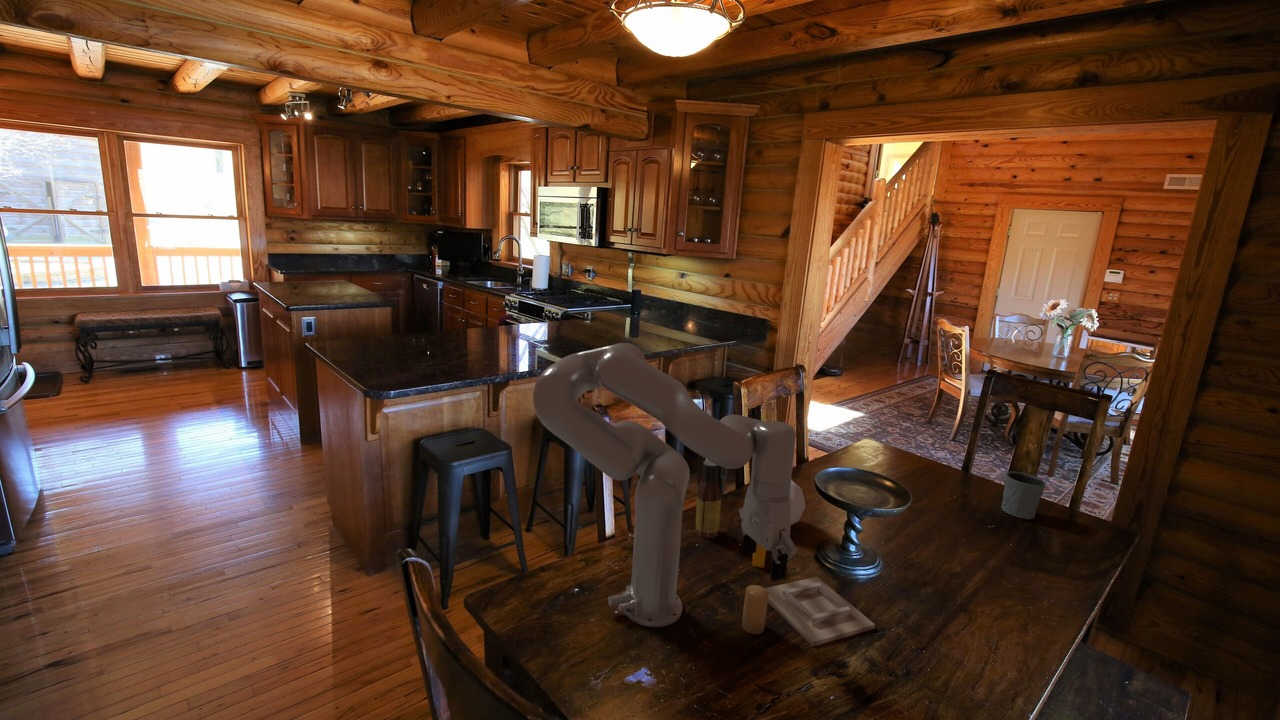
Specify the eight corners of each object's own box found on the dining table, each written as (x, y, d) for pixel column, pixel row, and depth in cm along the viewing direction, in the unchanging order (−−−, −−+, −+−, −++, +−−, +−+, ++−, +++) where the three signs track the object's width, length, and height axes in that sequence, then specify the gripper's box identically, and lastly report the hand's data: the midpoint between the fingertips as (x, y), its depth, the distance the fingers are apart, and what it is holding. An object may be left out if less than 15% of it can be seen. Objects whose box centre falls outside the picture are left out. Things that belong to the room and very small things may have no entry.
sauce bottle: (722, 532, 157) (729, 462, 153) (712, 542, 152) (719, 470, 148) (700, 524, 161) (706, 456, 156) (689, 534, 156) (696, 463, 151)
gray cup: (990, 507, 184) (998, 471, 181) (1020, 507, 185) (1028, 471, 182) (1014, 523, 174) (1022, 485, 171) (1045, 523, 175) (1054, 485, 173)
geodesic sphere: (738, 526, 161) (743, 477, 158) (756, 507, 173) (762, 461, 170) (791, 544, 154) (798, 493, 151) (807, 523, 166) (814, 475, 163)
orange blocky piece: (745, 541, 154) (747, 518, 153) (762, 543, 154) (764, 520, 152) (745, 566, 143) (748, 542, 141) (763, 569, 142) (766, 544, 141)
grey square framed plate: (812, 646, 116) (814, 634, 115) (759, 593, 132) (760, 583, 131) (874, 628, 122) (876, 617, 122) (816, 580, 138) (817, 570, 138)
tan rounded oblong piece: (750, 636, 117) (754, 600, 116) (737, 622, 121) (741, 587, 120) (768, 631, 119) (773, 595, 118) (755, 617, 123) (759, 583, 122)
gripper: (729, 470, 120) (723, 547, 124) (782, 508, 104) (773, 594, 108) (760, 466, 123) (753, 541, 127) (815, 501, 108) (806, 586, 111)
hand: (762, 565), depth 117 cm, fingers open, 9 cm apart
